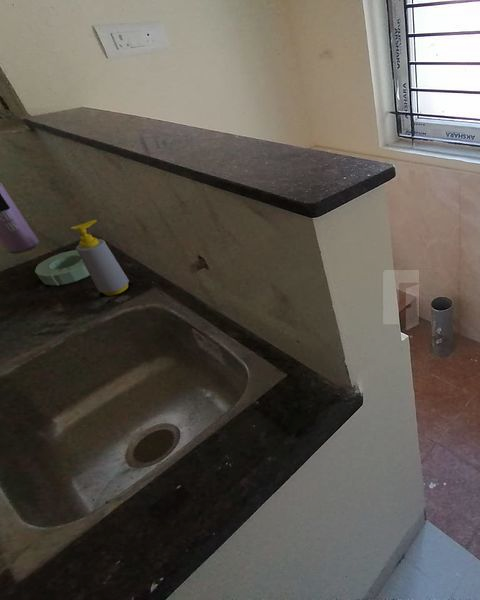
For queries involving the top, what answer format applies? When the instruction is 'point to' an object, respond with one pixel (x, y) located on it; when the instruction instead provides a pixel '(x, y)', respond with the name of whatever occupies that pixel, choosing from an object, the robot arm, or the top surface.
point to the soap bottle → (100, 262)
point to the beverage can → (15, 228)
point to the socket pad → (62, 269)
